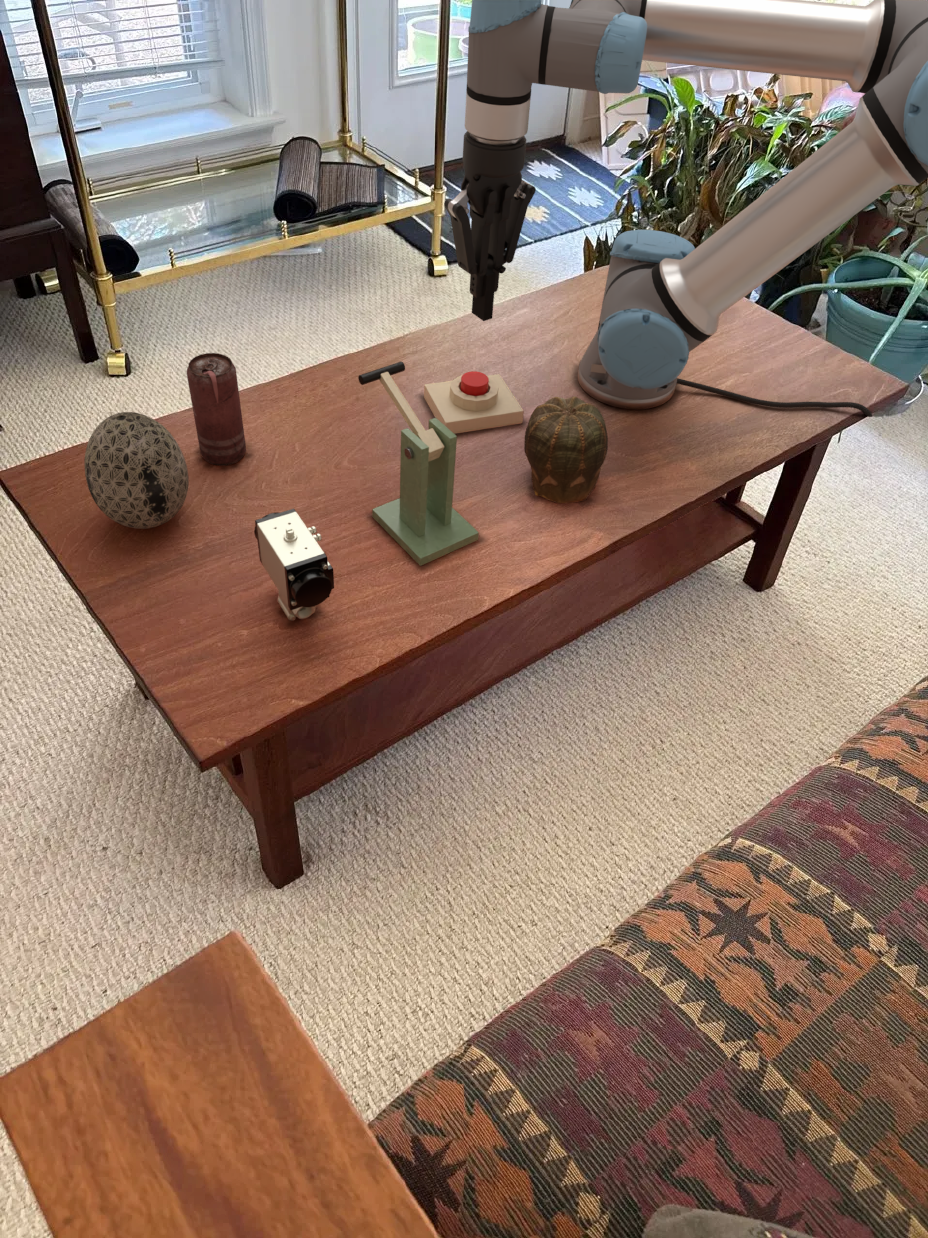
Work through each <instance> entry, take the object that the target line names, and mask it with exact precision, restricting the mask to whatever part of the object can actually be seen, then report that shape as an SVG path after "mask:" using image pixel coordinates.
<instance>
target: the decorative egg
mask: <svg viewBox="0 0 928 1238" xmlns="http://www.w3.org/2000/svg"><path fill="white" fill-rule="evenodd" d="M84 476H85V481H86V484H87V488H88V491H89V493H90V497H92V499H93V502H94V503H95V504H96V506H97V507H98V509H99V510H100V511H101V512H102V513H103V514H104V515H105V516H106V517H107V518H109V519H110V520H111V521H113V522H114V523H117V524H119V525H121V526H124V527H128V528H132V529H141V530H145V529H152V528H156V527H160V526H162V525H164V524H166V523H167V522H169V521H171V519H173V518H174V517H175V516H176V515H177V514H178V513H179V511H180V510H181V509H182V507H183V506H184V503H185V502H186V498H187V496H188V492H189V486H190V485H189V484H190V483H189V481H190V480H189V470H188V465H187V462H186V458H185V455H184V453H183V451H182V449H181V447H180V445H179V443H178V441H177V440H176V439H175V437H174V436H173V434H172V433H171V432H170V431H169V430H168V429H167V428H166V427H165V426H164V425H163V424H161V423H160V422H158V421H157V420H155V419H154V418H152V417H150V416H147V415H145V414H142V413H139V412H135V411H122V412H117V413H114V414H112V415H109V416H108V417H106V418H105V419H103V420H102V421H101V422H100V423H99V424H98V425H97V426H96V427H95V429H93V431H92V432H91V435H90V437H89V439H88V441H87V444H86V449H85V452H84Z"/></svg>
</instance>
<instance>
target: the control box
mask: <svg viewBox="0 0 928 1238" xmlns="http://www.w3.org/2000/svg"><path fill="white" fill-rule="evenodd" d="M462 375H463V374H461V375H459V376H457V377H455V378H453V379H452V380H447V381H440V382H433V383H425V384H423V398H424V400H425V402H426V404H427V406H428V407H429V409H430V411H431V412H432V413H431V414H433V416H434V418H437V419H438V420H439V421H440V422H441V423H442V424H444V425H445V426H446V427H447V428H448V429H449V430H450V431H452V432H453V433H454V434H455V435H456V434H462V433H467V432H468V433H469V432H474V431H480V430H481V431H482V430H488V429H494V428H500V427H506V426H514V425H519V424H523V421H524V414H525V413H524V412H525V411H524V408H522V406H521V404H520V403H519V401H518V400H517V398H516V397H515V396H514V393H513V392H512V391H511V389H510V388H509V386H508V384H507V383H506V382H505V380H504V379H503V377H502V376H501V374H500V373H495V374H489V375H486V376H487V377H488V378H489V384H488V391H487V393H486V394H485V395H481V396H472V395H467V394H465V393H463V392H462V391H461V377H462Z"/></svg>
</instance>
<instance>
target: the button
mask: <svg viewBox="0 0 928 1238" xmlns="http://www.w3.org/2000/svg"><path fill="white" fill-rule="evenodd" d="M461 375H462V377H461V391H462V392H463V393H465V394H467V395H472V396H481V395H485V394H486V393H487V391H488V384H489V378H488V377H487V376H488V375H486V373H484V372H480V371H475V370H472V371H467V372H465V373H463V374H461Z"/></svg>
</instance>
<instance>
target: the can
mask: <svg viewBox="0 0 928 1238" xmlns="http://www.w3.org/2000/svg"><path fill="white" fill-rule="evenodd" d="M186 377H187V383H188V389H189V395H190V401H191V406H192V407H191V408H192V413H193V418H194V423H195V424H194V425H195V429H196V435H197V442H198V447H199V452H200V453H199V454H200V455H201V457H202V459H204V460H205V461H206V462H207V463H208V464H211V465H213V466H219V467H224V466H225V467H226V466H231V465H234V464H236V463H238V462H240V461H241V460H242V459H243V458H244V456H245V454H246V452H247V444H246V437H245V429H244V422H243V415H242V407H241V399H240V391H239V383H238V374H237V369H236V366H235V364H234V363H233V361H232V360H231V358H230V357H228V356H227V355H225V354H222V353H216V352H206V353H202V354H201V353H200V354H199V355H196V356H194V357H193V358H191V359H190V361H189V362H188V365H187V368H186Z"/></svg>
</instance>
